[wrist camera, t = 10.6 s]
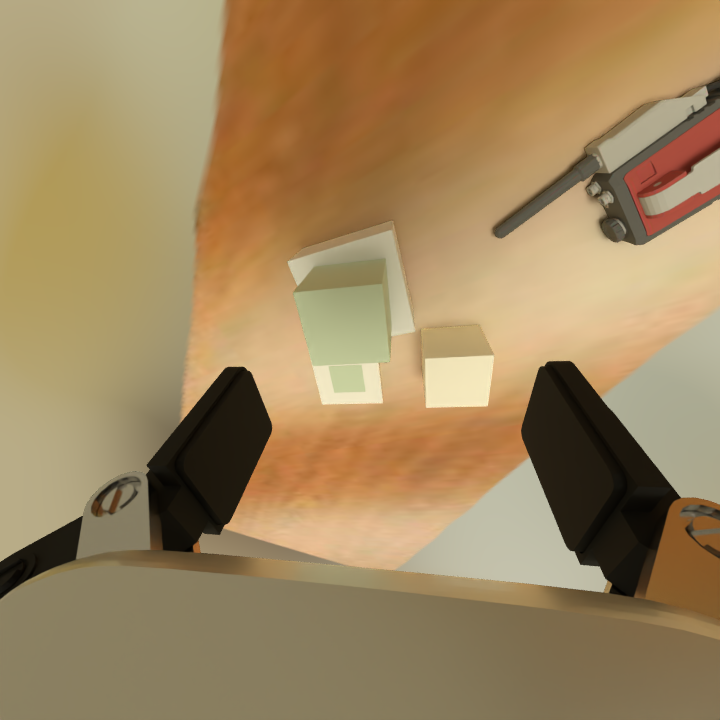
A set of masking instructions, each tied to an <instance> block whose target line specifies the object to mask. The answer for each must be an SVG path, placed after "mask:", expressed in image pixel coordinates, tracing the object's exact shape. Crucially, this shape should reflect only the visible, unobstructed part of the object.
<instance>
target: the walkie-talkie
mask: <svg viewBox="0 0 720 720" xmlns="http://www.w3.org/2000/svg"><path fill="white" fill-rule="evenodd" d="M585 151H586V154H587V157H586V158H585V159H583V160H582V161H581V162H579V163H578V164H577V165H576V166H574V168H573V170H572V171H571V172H569V173H568V174H567V175H565V176H564V177H563V178H561V179H560V180H559V181H557V182H556V183H555V184H554V185H552V186H551V187H550V188H548V189H547V190H546V191H544V192H543V193H542V194H540V195H539V196H538V197H537V198H535V199H534V200H533V201H531V202H530V203H529V204H527V205H526V206H525V207H524V208H522V209H521V210H520V211H518V212H517V213H516V214H514V215H513V216H512V217H510V218H509V219H508V220H507V221H505V222H504V223H503V224H501V225H500V226H499V227H497V228H496V230H495V236H496V237H497V238H503V237H505V236H506V235H508V234H509V233H510V232H512V231H513V230H514V229H516V228H517V227H519V226H520V225H521V224H523V223H524V222H525V221H527V220H528V219H529V218H531V217H532V216H533V215H535V214H536V213H538V212H539V211H540V210H542V209H543V208H544V207H546V206H547V205H548V204H550V203H551V202H553V201H554V200H555V199H557V198H558V197H559V196H561V195H562V194H563V193H565V192H566V191H567V190H569V189H570V188H572V187H573V186H574V185H576V184H577V183H578V182H580V181H584V180H585V179H587V178H588V177H589V176H591V175H592V174H594V173H595V175H594V177H593V178H592V182H591V185H590V186H589V187H587V192H588V194H589V195H590V196H594V195H595V194H598V196H599V197H598V201H599V202H600V204H601V205H603V207H604V209H605V211H606V213H607V215H608V217H609V218H608V219H606V220H605V221H603V222H602V230H603V232H604V233H605V235H606V236H607V237H608V238H609V239H610V240H611V241H613V242H620V241H621V240H623V241H626V242H629V243H631V244H634V245H643V244H645V243H647V242H648V241H650V240H652V239H654V238H655V237H657V236H659V235H660V234H662V233H664V232H665V231H667V230H669V229H670V228H672V227H674V226H675V225H677V224H679V223H680V222H682V221H684V220H685V219H687V218H689V217H690V216H692V215H694V214H695V213H697V212H699V211H701V210H702V209H704V208H706V207H707V206H709V205H711V204H712V203H713V202H714V201H716V200H717V199H718V200H719V199H720V80H718V81H716V82H714V83H710V84H707V85H705V86H702V87H698V88H694V89H691V90H690V91H688V92H687V93H686V94H684V95H683V96H682V97H680V98H675V99H667V100H660V101H656V102H652V103H648V104H644V105H643V106H641V107H640V108H639V109H638V110H636V111H635V112H634V113H632V114H631V115H630V116H628V117H627V118H626V119H625V120H623V121H622V122H621V123H619V124H618V125H617V126H616V127H614V128H613V129H612V130H610V131H609V132H608V133H606V134H605V135H604V136H603V137H601V138H600V139H598V140H594V141H593V142H592V143H591V144H589V145H588V146H587V147H585Z"/></svg>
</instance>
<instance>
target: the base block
mask: <svg viewBox="0 0 720 720" xmlns="http://www.w3.org/2000/svg"><path fill="white" fill-rule="evenodd" d="M377 259H386V266H387V277H388V288H389V300H390V311H391V322H392V332H391V337H392V336H397V335H401V334H406V333H411V332H415V322H414V312H413V307H412V302H411V298H410V293H409V289H408V284H407V280H406V276H405V271H404V267H403V262H402V258H401V253H400V249H399V245H398V240H397V236H396V231H395V227H394V222H393V220H392V221H388V222H385V223H382V224H379V225H376V226H372V227H369V228H366V229H363V230H360V231H356V232H353V233H350V234H347V235H344V236H340V237H337V238H334V239H331V240H328V241H324V242H321V243H318V244H315V245H312V246H308V247H305V248H302V249H301V250H300V251H299V252H298V253H296V254H295V255H294V256H293V257H292V258H291V259H290V260H288V261H287V263H288V265H289V267H290V270H291V272H292V274H293V277H294V279H295V282H296V284H297V286H299V284H300V283H301V282H302V281H303V280H304V278H305V277H306V276H307V275H308V273H309V272H310V271H311V270H312V269H313V267H314V266H323V265H332V264H341V263H350V262H359V261H368V260H377Z"/></svg>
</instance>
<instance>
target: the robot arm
mask: <svg viewBox="0 0 720 720" xmlns="http://www.w3.org/2000/svg"><path fill="white" fill-rule="evenodd" d="M271 432H272V423H271V421H270V418H269V416H268V413H267V411H266V408H265V406H264V403H263V401H262V398H261V396H260V393H259V391H258V388H257V386H256V383H255V381H254V378H253V376H252V374H251V372H250V371H247V369H246V368H245V367H227V368H225V369H224V370H223V372H222V373H221V374H220V375H219V376H218V378H217V379H216V380H215V381H214V383H213V384H212V385H211V386H210V388H209V389H208V390H207V391H206V392H205V394H204V395H203V396H202V397H201V399H200V400H199V401H198V402H197V404H196V405H195V406H194V407H193V408H192V410H191V411H190V412H189V413H188V415H187V416H186V417H185V418H184V420H183V421H182V422H181V423H180V424H179V426H178V427H177V428H176V429H175V431H174V432H173V433H172V434H171V436H170V437H169V438H168V439H167V441H166V442H165V443H164V444H163V445H162V447H161V448H160V449H159V450H158V452H157V453H156V454H155V456H153V458H152V459H151V460H150V461H149V463H148V464H147V467H148V468H149V469H150V470H149V472H148V473H147V474H146V475H145V474H144V473H142V472H137V471H133V472H128V473H124V474H122V475H119V476H117V477H115V478H113V479H112V480H110V481H108V482H107V483H106V484H104V485H103V486H102V487H100V488H99V489H98V490H97V491H96V492H95V494H93V495H92V497H91V498H90V500H89V501H88V503H87V504H86V507H85V509H84V513H83V516H81V517H79V518H78V519H76V520H74V521H72V522H70V523H69V524H67V525H65V526H63V527H61V528H59V529H58V530H56V531H54V532H52V533H51V534H48V535H47V536H45V537H43V538H41V539H39V540H37V541H36V542H34V543H32V544H30V545H28V546H27V547H25V548H23V549H21V550H19V551H17V552H16V553H14V554H12V555H11V556H9V557H7V558H6V559H4V560H3V561H1V562H0V720H720V505H719V504H717V503H714V502H711V501H708V500H704V499H699V498H681V497H680V496H679V495H678V494H677V492H676V491H675V490H674V488H673V487H672V486H671V485H670V484H669V482H668V481H667V480H666V478H665V477H664V476H663V475H662V473H661V472H660V471H659V469H658V468H657V467H656V466H655V464H654V463H653V462H652V461H651V460H650V458H649V457H648V456H647V454H646V453H645V452H644V451H643V449H642V448H641V447H640V445H639V444H638V443H637V442H636V440H635V439H634V438H633V437H632V435H631V434H630V433H629V432H628V430H627V429H626V428H625V427H624V425H623V424H622V423H621V422H620V420H619V419H618V418H617V416H616V415H615V414H614V413H613V412H612V411H611V410H610V409H609V408H608V407H607V405H606V404H605V403H604V402H603V400H602V399H601V398H600V396H599V395H598V394H597V393H596V391H595V390H594V389H593V388H592V386H591V385H590V384H589V382H588V381H587V380H586V379H585V377H584V376H583V375H582V374H581V372H580V371H579V370H578V368H577V367H576V366H575V365H574V364H573V363H572V362H571V361H549V362H547V363H546V365H545V366H542V367H540V368H539V370H538V373H537V377H536V380H535V383H534V387H533V390H532V394H531V397H530V401H529V404H528V407H527V411H526V414H525V418H524V421H523V425H522V429H521V433H522V438H523V441H524V444H525V446H526V449H527V451H528V454H529V456H530V458H531V461H532V463H533V466H534V468H535V470H536V473H537V475H538V478H539V481H540V483H541V485H542V488H543V490H544V493H545V495H546V498H547V500H548V503H549V505H550V507H551V510H552V512H553V515H554V517H555V520H556V522H557V525H558V527H559V530H560V532H561V535H562V537H563V539H564V542H565V544H566V546H567V548H568V549H569V550H570V551H575V553H576V556H577V558H578V560H579V563H580V565H589V566H600V568H601V570H602V572H603V574H604V577H605V579H607V580H608V581H607V584H606V587H605V590H604V592H603V593H601V592H593V591H585V590H576V589H568V588H559V587H551V586H542V585H534V584H524V583H515V582H504V581H494V580H483V579H474V578H464V577H454V576H444V575H434V574H424V573H414V572H403V571H393V570H382V569H372V568H361V567H351V566H339V565H329V564H319V563H308V562H297V561H286V560H274V559H264V558H253V557H252V558H251V557H240V556H229V555H219V554H207V553H201V552H200V546H199V541H198V540H199V538H200V536H201V534H202V532H203V533H205V534H215V535H220V533H221V531H222V529H223V527H224V525H225V524H228V523H229V522H230V520H231V518H232V516H233V514H234V512H235V510H236V508H237V505H238V503H239V501H240V499H241V497H242V495H243V493H244V490H245V488H246V486H247V484H248V482H249V480H250V478H251V475H252V473H253V471H254V469H255V467H256V465H257V463H258V460H259V458H260V456H261V454H262V452H263V450H264V448H265V445H266V443H267V441H268V439H269V437H270V435H271Z"/></svg>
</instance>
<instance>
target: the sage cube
mask: <svg viewBox="0 0 720 720" xmlns="http://www.w3.org/2000/svg"><path fill="white" fill-rule="evenodd" d="M293 295H294V298H295V302H296V306H297V309H298V313H299V317H300V321H301V324H302V328H303V332H304V335H305V339H306V343H307V346H308V350H309V354H310V357H311V361H312V365H313V366H325V365H344V364H363V363H381V362H390V353H391V332H392V322H391V311H390V300H389V288H388V277H387V266H386V259H377V260H368V261H359V262H350V263H341V264H332V265H323V266H314V267H313V269H312V270H311V271H310V272H309V273H308V275H307V276H306V277H305V278H304V280H303V281H302V282H301V283H300V284H299V286H298V287H297V288H296V289H295V291H294V292H293Z"/></svg>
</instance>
